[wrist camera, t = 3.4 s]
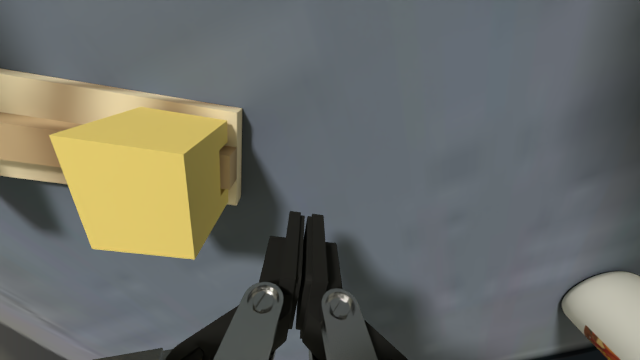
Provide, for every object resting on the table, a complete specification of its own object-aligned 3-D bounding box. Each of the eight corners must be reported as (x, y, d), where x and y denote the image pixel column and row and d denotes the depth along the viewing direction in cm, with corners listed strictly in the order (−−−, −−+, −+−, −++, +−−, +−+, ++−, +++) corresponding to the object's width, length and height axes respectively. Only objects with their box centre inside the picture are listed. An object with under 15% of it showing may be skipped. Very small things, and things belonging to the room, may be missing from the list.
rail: (242, 108, 16) (203, 138, 10) (240, 197, 19) (210, 255, 13) (-110, 50, 14) (-393, 48, 8) (-44, 160, 17) (-215, 211, 11)
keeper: (227, 120, 14) (183, 154, 10) (228, 201, 17) (194, 259, 12) (140, 106, 14) (49, 135, 9) (156, 192, 17) (92, 248, 12)
